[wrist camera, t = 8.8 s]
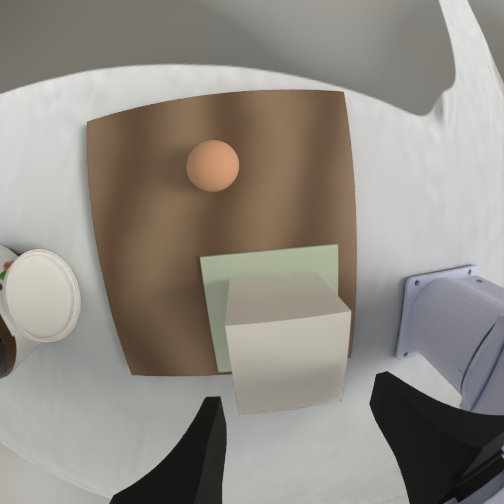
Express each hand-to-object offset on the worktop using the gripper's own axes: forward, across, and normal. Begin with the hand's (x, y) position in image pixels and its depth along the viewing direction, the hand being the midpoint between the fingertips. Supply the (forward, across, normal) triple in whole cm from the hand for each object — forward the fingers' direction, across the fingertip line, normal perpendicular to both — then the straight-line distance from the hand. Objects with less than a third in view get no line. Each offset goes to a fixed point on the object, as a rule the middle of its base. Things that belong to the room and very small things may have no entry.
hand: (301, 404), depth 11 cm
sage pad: (+8, 0, -1) cm, 8 cm away
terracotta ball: (+7, +3, -11) cm, 13 cm away
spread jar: (+10, +21, -4) cm, 24 cm away
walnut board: (+9, +3, -6) cm, 11 cm away
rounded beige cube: (+8, 0, -1) cm, 8 cm away
